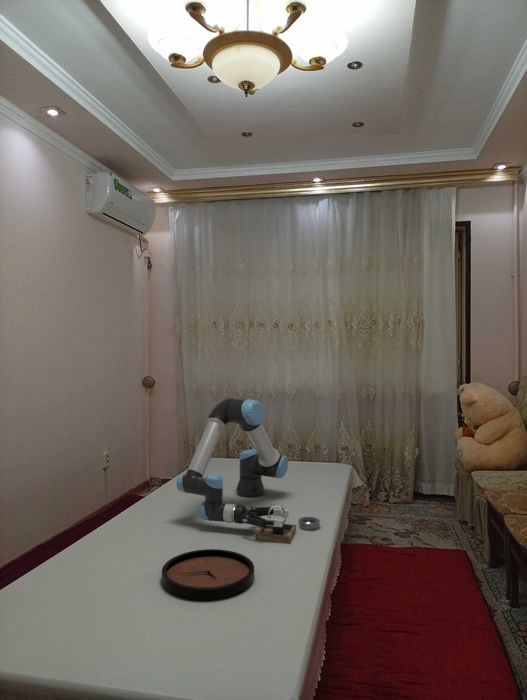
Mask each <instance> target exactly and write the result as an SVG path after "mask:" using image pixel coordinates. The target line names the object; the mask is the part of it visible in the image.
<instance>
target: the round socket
mask: <svg viewBox="0 0 527 700" xmlns="http://www.w3.org/2000/svg"><path fill="white" fill-rule="evenodd" d="M298 528H299V529H300V530H302V531H307V532H313V531H317V530H319V529H320V519H319V518H317V517H314V516H303V517H300V518H299V519H298Z"/></svg>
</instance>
